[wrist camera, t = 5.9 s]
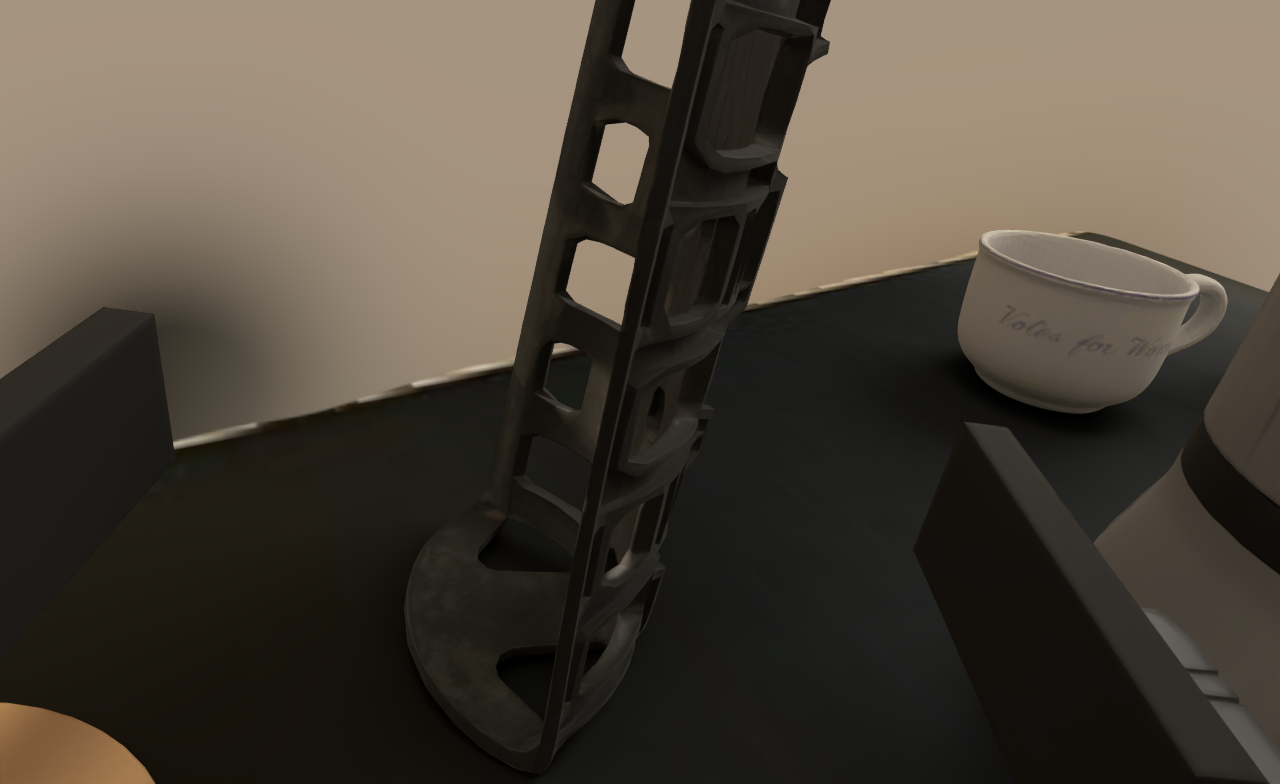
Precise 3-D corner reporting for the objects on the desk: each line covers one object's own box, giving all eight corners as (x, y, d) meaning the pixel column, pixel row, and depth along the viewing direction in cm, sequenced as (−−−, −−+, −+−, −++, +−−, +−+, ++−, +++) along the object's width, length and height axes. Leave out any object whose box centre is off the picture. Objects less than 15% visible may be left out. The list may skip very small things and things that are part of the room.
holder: (374, 518, 29) (456, -142, 20) (575, 506, 32) (722, -60, 23) (441, 801, 20) (637, -127, 11) (703, 743, 24) (1011, -1, 15)
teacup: (955, 413, 43) (1011, 269, 39) (923, 329, 53) (965, 207, 49) (1228, 467, 42) (1312, 326, 38) (1145, 372, 52) (1207, 251, 48)
